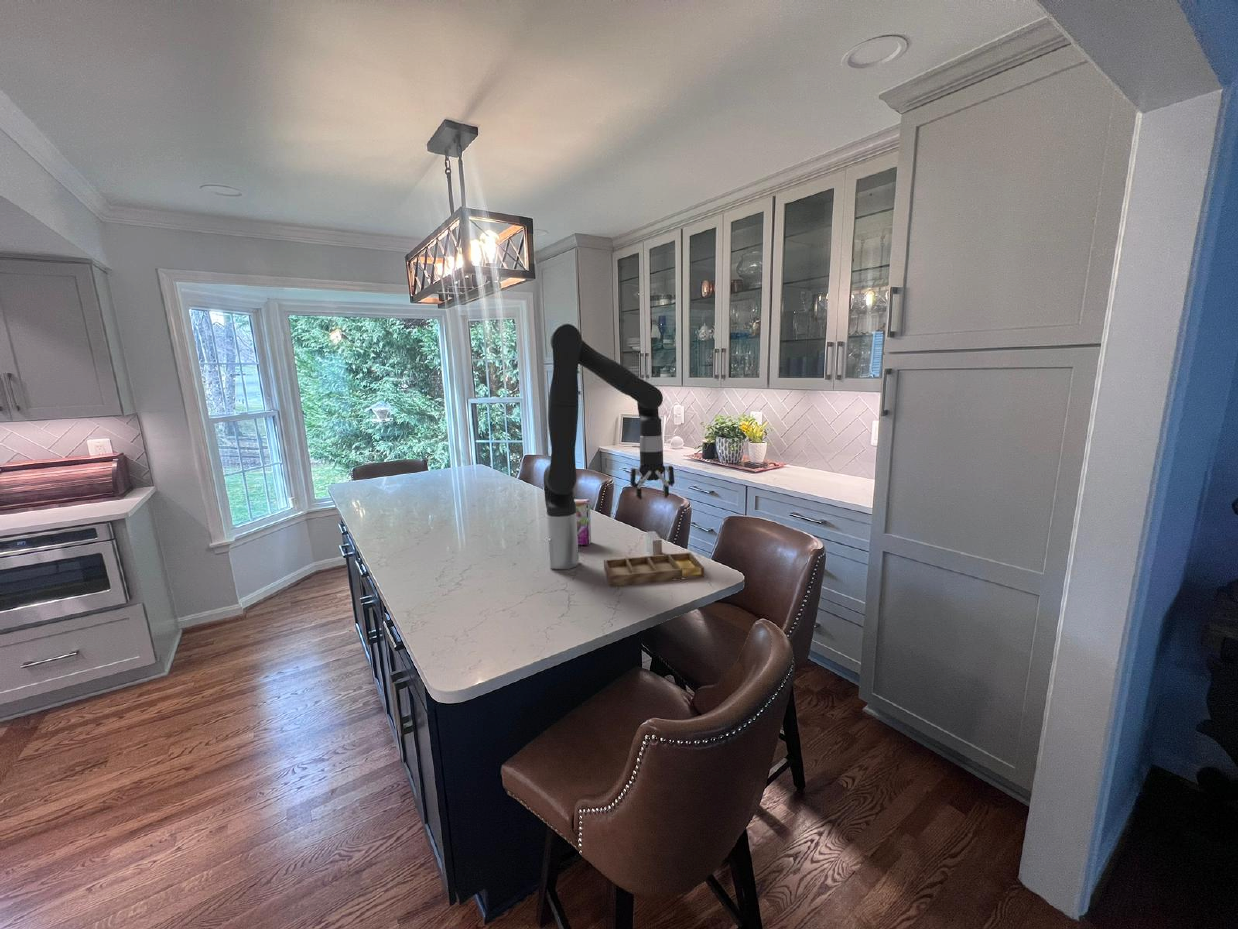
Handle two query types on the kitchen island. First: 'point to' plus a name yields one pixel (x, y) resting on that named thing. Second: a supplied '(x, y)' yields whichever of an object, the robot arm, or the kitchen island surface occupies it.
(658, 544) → the panel
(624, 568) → the rack
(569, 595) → the kitchen island surface
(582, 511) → the candy bar box
